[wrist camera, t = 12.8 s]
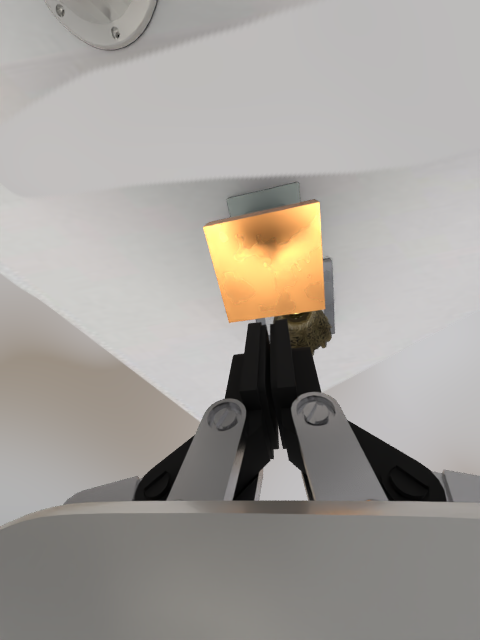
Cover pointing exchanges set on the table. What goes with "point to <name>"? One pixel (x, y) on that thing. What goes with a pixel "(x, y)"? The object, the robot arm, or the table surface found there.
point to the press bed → (327, 292)
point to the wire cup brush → (308, 329)
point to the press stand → (264, 199)
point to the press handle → (269, 261)
